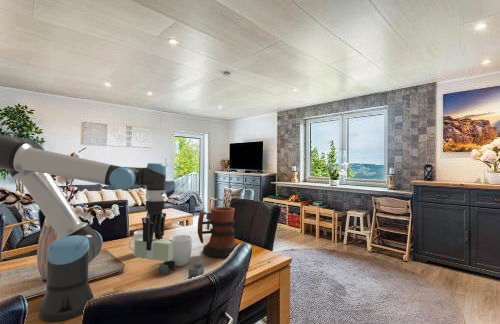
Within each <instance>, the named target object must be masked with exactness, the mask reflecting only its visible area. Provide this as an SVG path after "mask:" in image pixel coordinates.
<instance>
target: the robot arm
mask: <svg viewBox="0 0 500 324" xmlns="http://www.w3.org/2000/svg"><path fill="white" fill-rule="evenodd" d="M166 168H167V166H166V164H164V163H154V162H153V163H152V162H151V163H150V162H149V163H147V165H146V167H136V166H135V167H134V166H120V165H116V164H115V165H114V164H109V163H105V162H100V161H96V160H91V159H86V158H82V157H77V156H73V155H68V154H63V153H58V152H53V151H48V150H46V149H45V148H44V146H43V145H42V144H41V143H39V142H37V140H33V139H31V138H26V137H17V136H11V135H5V134H4V135H0V170H7V172H8V173H9V175H10V176H11V178H12V179H13V180H17V181H20V182H21V183H22V185H23V186H24V187H25V189H26V190H27V192H28V193H29V195H30V196H31V198H32V200H33V201H34V202H35V204H36V205H37V207H38V208H39V209H40V211H41V213H42V214H43V215H44V217H45V219H46V220H47V221H48V223H49V224H50V225H51V228H52V229H53V230H54V231H55V233H56V234H57V236H56V239H55V240H54V241H52V242H51V243H50V244H49V245H48V247H47V251H46V252H47V253H46V290H45V291H46V292H45V293H44V296H43V299H42V302H41V305H40V306H39V309H38V310H39V311H38V318H39V319H40V320H41V321H42V322H43V321H44V322H48V321H51V322H52V321H54V322H61V321H66V320H70V319H73V318H76V317H78V316H80V315H83V314H84V313H83V310H84V307H85V305H86V303H87V301H89V300H91V299H93V300H94V294H93V292H92V288H91V286H90V284H89V264H90V263H92V261H93V260H94V259H95V258H96V257H97V256H98V255H99V254H100V252H101V250H102V249H103V243H104V241H103V236H102V235H101V233H99V232H98V231H97V230H95V229H92V227H91V226H90V225H89V223H88V222H83V221H82V220H81V219H80V218H79V216H78V214H77V213H76V211H75V210H74V208H73V207H72V205H71V203H70V202H69V201H68V199H67V198H66V196H65V194H64V193H63V192H62V190H61V189H60V187H59V185H58V184H57V182H56V181H55V180H54V178H53V177H52V176H57V177H62V178H68V179H72V180H78V181H84V182H88V183H95V184H98V185H99V184H100V185H103V186H104V185H105V186H109V187H113V188H114V189H117V190H126V189H129V188H131V187H134V186H142V187H143V186H144V187H146V188H145V200H146V201H145V205H144V206H145V210H146V211H147V212H146V216H145V217H142V218H141V221H142V230H143V242H146V243H147V245H146V250H147V254H146V258H153V250H154V242H152V241H153V239H154V240H163V238H164V235H165V225H166V222H165V221H166V216H167V213H166V212H163V211H164V209H165V206H166V205H165V203H166V201H165V199H166V197H165V196H166V180H167V179H166V178H167V169H166ZM146 258H145V259H146Z"/></svg>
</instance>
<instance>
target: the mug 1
mask: <svg viewBox="0 0 500 324" xmlns="http://www.w3.org/2000/svg"><path fill="white" fill-rule="evenodd" d="M140 238H143V229H140V230H136V231H134V232H133V236H131V238H130V240H129V242H128V248H129V250H131V251H133V252H132V255H133V256H134V257H135V240H137V239H140ZM132 241H133V248H132V247H131V242H132Z"/></svg>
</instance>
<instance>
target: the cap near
mask: <svg viewBox="0 0 500 324" xmlns="http://www.w3.org/2000/svg"><path fill="white" fill-rule="evenodd" d="M204 268H205V265H204V264H200V263H194V268H190V267H189V268H188V279H192V277H196V276H199V275H202V274H203V275H204V273H205V271H204V270H205V269H204ZM203 275H202V276H203Z"/></svg>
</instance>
